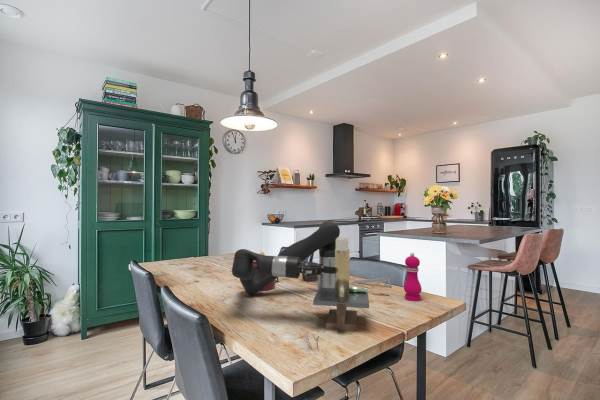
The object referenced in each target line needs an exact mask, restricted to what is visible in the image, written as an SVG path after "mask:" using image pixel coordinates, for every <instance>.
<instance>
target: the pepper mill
mask: <svg viewBox="0 0 600 400" xmlns="http://www.w3.org/2000/svg"><path fill="white" fill-rule="evenodd" d="M420 262H421V261H420V258H419V257H417V256H415V253H414V252H410V254H409V256H408V257H407V256H406V258H405V261H404V264H405V266H406V271H407V277H406V279H405V280H406V281H405V282H404V284H403V290H404V292H405V294H404V296H405V297H404V298H405V300H408V301H410V302H411V301H412V302H419V301H421V298H422V297H421V295H420V294H421V293H422V290H423V289H422V285H421V283H420V281H419V276H418V274H419V273H418V272H419V266H420V264H421V263H420Z"/></svg>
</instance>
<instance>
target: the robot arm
mask: <svg viewBox="0 0 600 400" xmlns="http://www.w3.org/2000/svg"><path fill="white" fill-rule="evenodd" d="M340 233H341V230H340V227H339V226H338V224H336V223H335V222H334V221H331V220H328V221H327V220H326V221H323V222H322V223H321V224H320V225H319V227H318V229H316V230H315V231H314V232H313V233H312V234H310V235H308V236H307V237H305V238H303V239H300V240H298V241H295V242H294V243H292V244H290V245H289V246H287V247H286V248H284V249H283V250H281V251H280V252H279V253H278V255H277V256H276V255H266V254H265V255H260V253H256V252H253V251H252V250H249V249H245V248H241V249H237V250H236V251H235V253H234V258H233V262H232V267H231V274H232V276H233V277H234V278H238V279H239V281H240V283H241V286H242V287H243V290H244V291H245V292H246V293H245V294H247V296H253V295H256V294H257V293H259V292H261V291H260V290H262V289H263V288H264V287H266V286H267V285H268V284H270V283H271V282H272V281H274V280H275V281H276V280H277V279H278V278H287V279H299V278H300V276H301V274H302V273H304V275H307V276H311V275H318V280H317V290H318V289H319V288H335V249H336V239H337V237H339V236H340ZM339 238H340V237H339ZM316 251H318V254H319V255H318V259H319V260H318V262H319V263H317V262H315V261H314V262H313V261H311V263H310V261H305V260H307V259H308V258H309V257H311V256H312V255H313V254H314V253H316ZM253 260H254V261H256V262H257V269H256V268H255V267H254V264H253ZM304 262H306V263H304ZM261 275H267V276H266V277H265V278H264V279H262V277H261Z"/></svg>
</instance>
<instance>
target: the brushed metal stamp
mask: <svg viewBox="0 0 600 400" xmlns="http://www.w3.org/2000/svg"><path fill="white" fill-rule="evenodd" d="M312 300H313V302H312V305H313V306H324V307H325V306H326V307H337V302H339V303H344V307H347V308H354V309H355V308H356V309H370V300H369V291H368V288H367V287H363V286H362V287H361V286H358V287H357V286H350V248H349V237H337V239H336V249H335V288H319V289H318V288H317V291H316V294H315V295H314V298H313V299H312Z"/></svg>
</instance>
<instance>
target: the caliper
mask: <svg viewBox="0 0 600 400" xmlns="http://www.w3.org/2000/svg"><path fill="white" fill-rule="evenodd" d="M351 283H352V284H368V283H369V284H370V283H377V284H384V286H385V288H388V287H389V288H391V287H392V279H391V277H390V276H389V274H387V275H385V276H384V277H376V278H371V279H358V280H353V281H351Z"/></svg>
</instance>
